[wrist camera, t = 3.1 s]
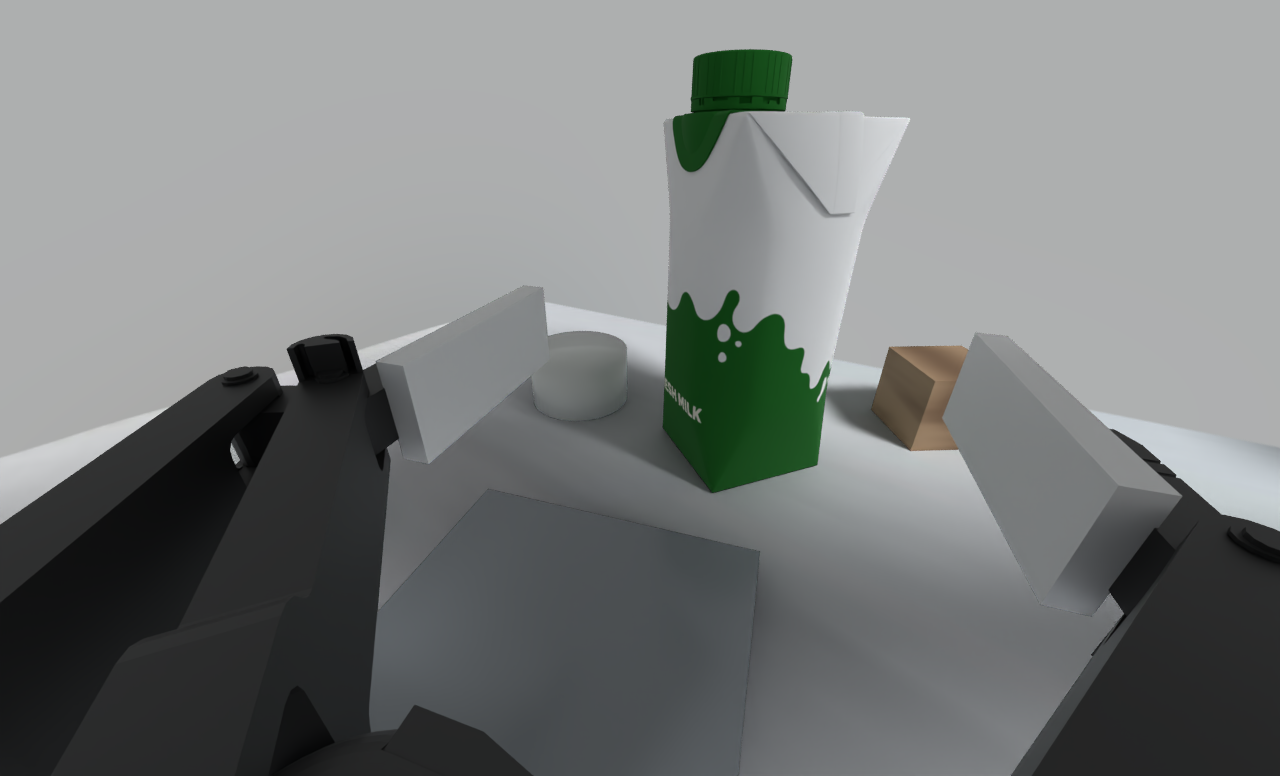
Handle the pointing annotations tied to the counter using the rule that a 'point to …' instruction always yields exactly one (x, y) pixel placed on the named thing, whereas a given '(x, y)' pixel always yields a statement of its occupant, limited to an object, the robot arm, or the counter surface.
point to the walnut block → (919, 394)
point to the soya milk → (760, 263)
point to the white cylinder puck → (581, 376)
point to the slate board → (574, 641)
